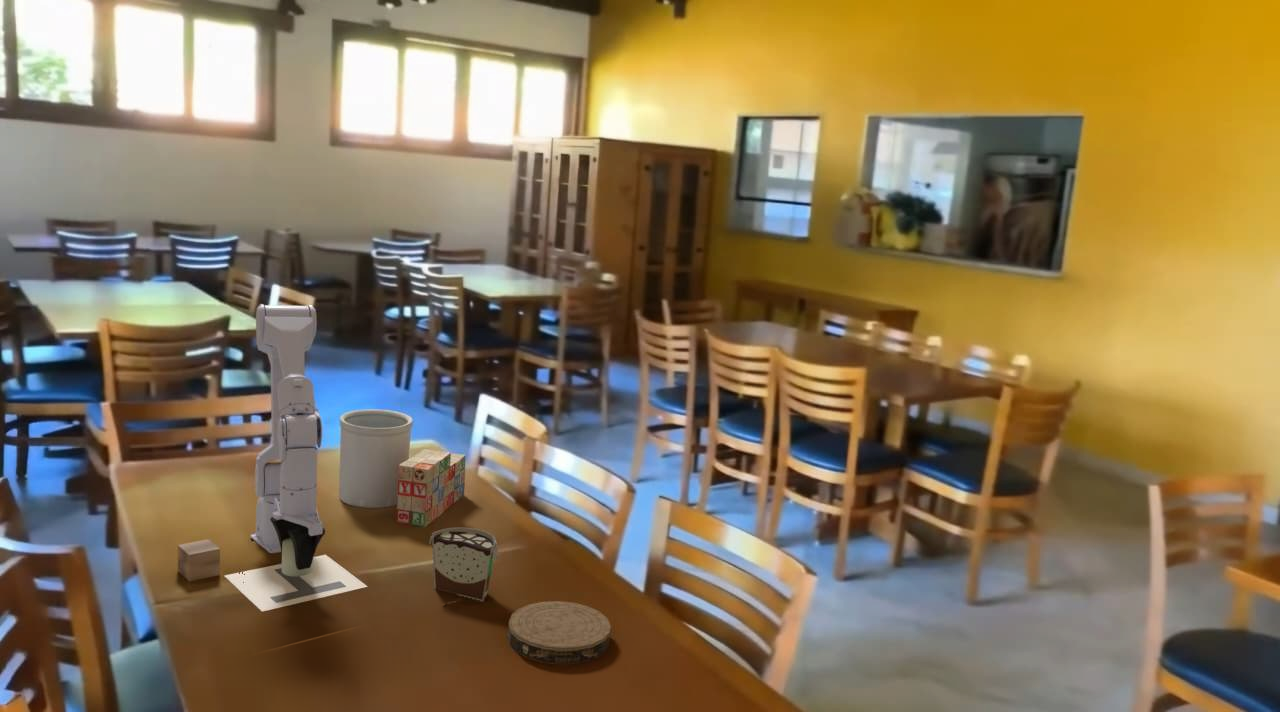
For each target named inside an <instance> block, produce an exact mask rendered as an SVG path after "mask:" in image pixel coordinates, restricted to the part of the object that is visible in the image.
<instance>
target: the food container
mask: <svg viewBox="0 0 1280 712" xmlns="http://www.w3.org/2000/svg"><path fill="white" fill-rule="evenodd" d="M428 543H429V545H432V561H433V563H432V564H433V583H434V584H433V586H434V589H435V590H440V591H444V592H447V593H451V594H455V595H457V596H458V595H459V597H462V596H464V597H463V598H466V597H468V599H470V598H472V599H471V600H475V599H476V601H479V600H480V602H484V601H486V600H487V597H488V591H489V586H490V580H491V574H492V568H493V563H494V559H495V558H496V557H498V554H499V549H498V543H497V541H496V538H495V536H494V535H493V534H491V533H490V532H487V531H485V530H482V529H478V528H472V527H471V528H470V527H448V528H443V529H439V530H435V531H434V532H432V534H431V536H430V539H429V542H428Z"/></svg>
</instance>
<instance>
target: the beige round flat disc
mask: <svg viewBox="0 0 1280 712" xmlns="http://www.w3.org/2000/svg"><path fill="white" fill-rule="evenodd" d="M611 627H612V626H611V623H610V620H609V618H608V617H607V616H605V615H604V614H603V613H602V612H601V611H599V610H597V609H595V608H593V607H590V606H589V605H584V604H581V603H577V602H569V601H561V600H554V601H550V600H549V601H539V602H536V603H529V604H527V605H523V606H522V607H519V608H517V610H515V612H513V613H512V614H511V616H510V618H509V620H508V630H507V631H508V632H507V639H508V643H509V646H510V645H511V646H510V647H511V648H512V649H513V651H515V652H516V653H517V654H519V655H521V656H523V657H525V658H527V659H529V660H533V661H537V662H540V663H545V664H555V665H574V664H581V663H585V662H589V661H590V662H591V661H592V660H594V659H596V658H599V657H601V656H602V655H603V654H604V653H605V652H606V651H607V650H608V649H609V645H610V644H609V643H610V639H611V638H610V635H611V629H612V628H611Z"/></svg>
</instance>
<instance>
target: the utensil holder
mask: <svg viewBox="0 0 1280 712" xmlns="http://www.w3.org/2000/svg"><path fill="white" fill-rule="evenodd" d="M413 421H414V420H413V417H412V416H410V415H408V414H406V413H403V412H400V411H395V410H390V409H376V408H374V409H369V408H368V409H357V410H352V411H347V412H344V413H343V414H342V415H340V417H339V426H340V434H339V435H340V439H339V441H340V442H339V443H340V444H339V467H338V468H339V470H338V471H339V475H338V497H339V500H340V501H342V502H343V503H345V504H346V505H350V506H353V507H359V508H369V509H371V508H372V509H380V508H387V507H388V508H389V507H393V506H396V505H397V501H398V480H399V479H398V475H399V465H400V464H401V463H403V462H405V461H407V460H408V459H410V447H411V445H410V444H411V430H412V428H413V423H414V422H413Z"/></svg>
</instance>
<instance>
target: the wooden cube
mask: <svg viewBox="0 0 1280 712" xmlns="http://www.w3.org/2000/svg"><path fill="white" fill-rule="evenodd" d="M220 554H221V549H220V547H218V546H217V545H216V544H215V543H213V541H211V540H210V539H209V538H208V539H207V538H206V539H202V540H198V541H197V540H196V541H192V542H186V543H182V544H177V572H178V573H179V574H180V575H181V576H183V578H184V579H185V580H187V581H188V582H189V583H190V582H194V581H198V580H203V579H209V578H212V577H216V576H220V574H221V573H220V572H221V571H220V569H221V568H220V567H221V566H220V565H221V563H220V562H221V555H220Z"/></svg>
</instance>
